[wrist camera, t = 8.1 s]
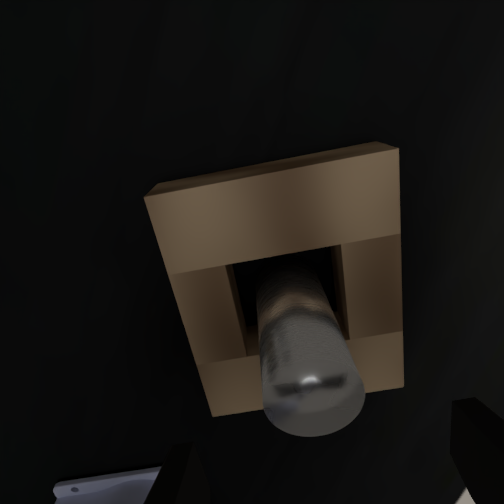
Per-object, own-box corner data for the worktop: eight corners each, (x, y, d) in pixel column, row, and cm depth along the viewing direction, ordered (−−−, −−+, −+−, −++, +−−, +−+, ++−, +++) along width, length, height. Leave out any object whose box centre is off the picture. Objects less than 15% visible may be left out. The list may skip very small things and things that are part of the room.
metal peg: (263, 313, 19) (275, 444, 12) (248, 260, 18) (251, 371, 11) (321, 299, 19) (371, 425, 12) (310, 245, 18) (357, 348, 10)
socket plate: (216, 382, 21) (212, 417, 19) (157, 183, 16) (143, 197, 14) (385, 354, 20) (403, 386, 18) (376, 141, 16) (398, 148, 14)
